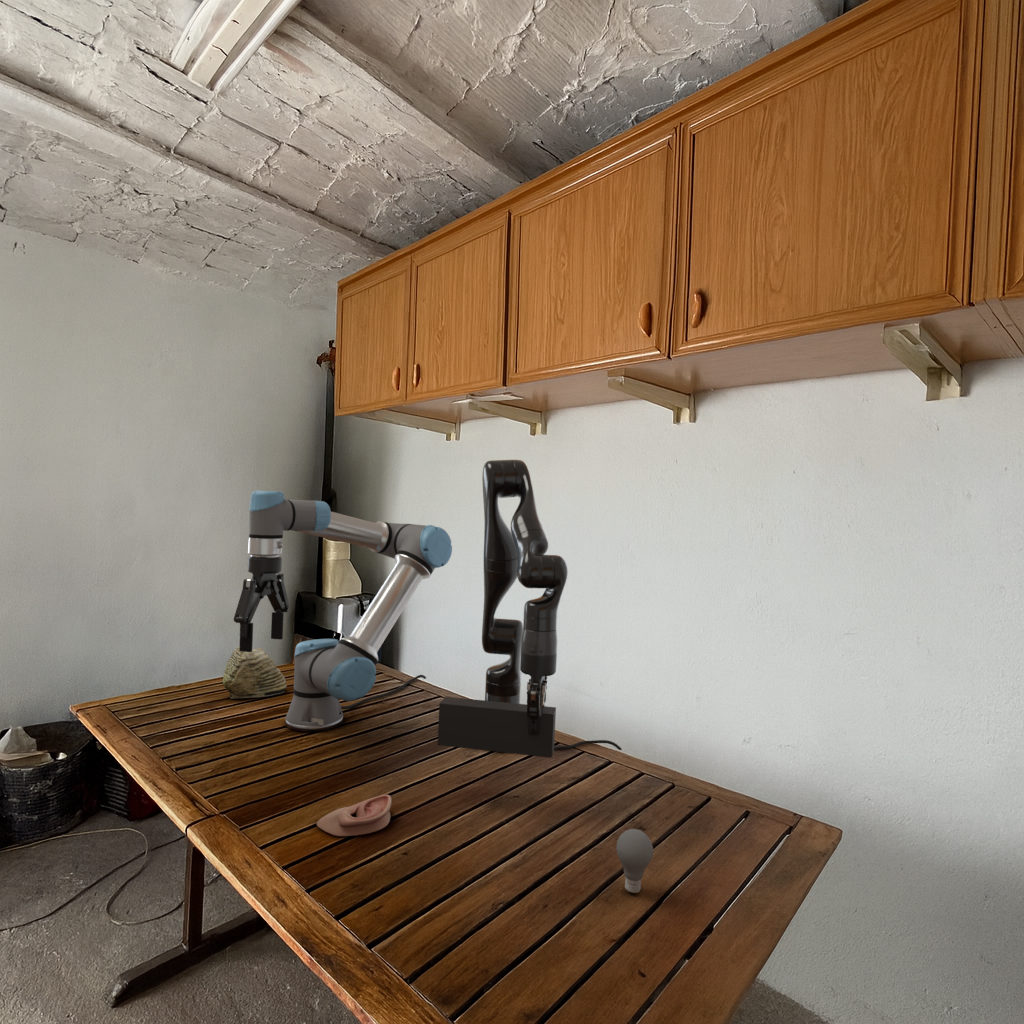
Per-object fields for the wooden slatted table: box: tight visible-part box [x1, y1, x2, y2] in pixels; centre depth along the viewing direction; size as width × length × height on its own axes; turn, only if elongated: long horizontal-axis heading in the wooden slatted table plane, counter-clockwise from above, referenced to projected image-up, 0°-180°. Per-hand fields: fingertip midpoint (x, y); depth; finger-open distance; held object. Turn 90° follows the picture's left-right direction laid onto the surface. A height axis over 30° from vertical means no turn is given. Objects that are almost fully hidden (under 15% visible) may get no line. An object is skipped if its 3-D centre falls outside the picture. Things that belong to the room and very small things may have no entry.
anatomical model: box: [316, 794, 393, 837], centre depth 124 cm, size 13×4×12 cm
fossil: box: [222, 646, 288, 699], centre depth 198 cm, size 9×18×15 cm, turn 132°
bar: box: [437, 696, 557, 759], centre depth 134 cm, size 24×5×9 cm, turn 81°
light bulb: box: [615, 828, 654, 894], centre depth 106 cm, size 6×6×10 cm
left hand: (261, 645), depth 150 cm, fingers open, 13 cm apart
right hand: (535, 730), depth 133 cm, fingers closed on bar, 4 cm apart
